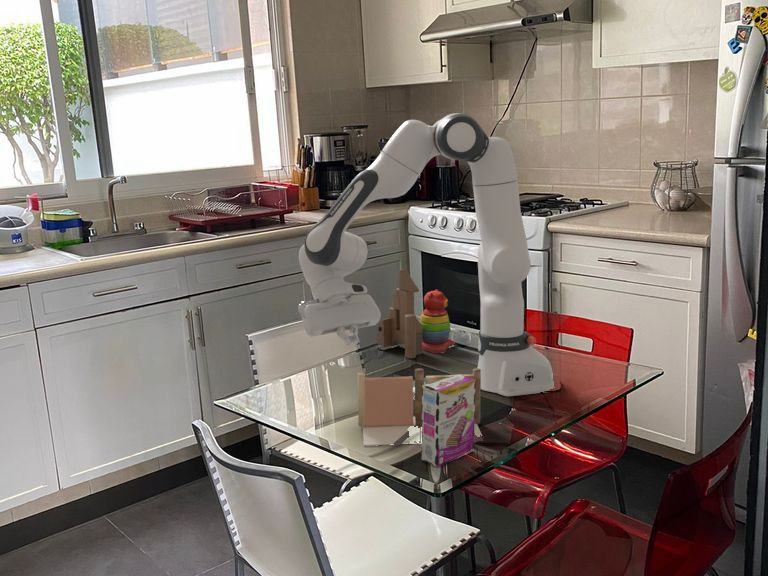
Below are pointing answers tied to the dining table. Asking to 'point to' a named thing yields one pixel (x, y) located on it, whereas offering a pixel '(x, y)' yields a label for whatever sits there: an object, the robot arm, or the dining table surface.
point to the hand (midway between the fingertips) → (353, 343)
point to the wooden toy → (402, 319)
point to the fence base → (429, 379)
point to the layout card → (393, 434)
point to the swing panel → (385, 400)
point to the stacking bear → (435, 323)
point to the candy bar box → (447, 419)
